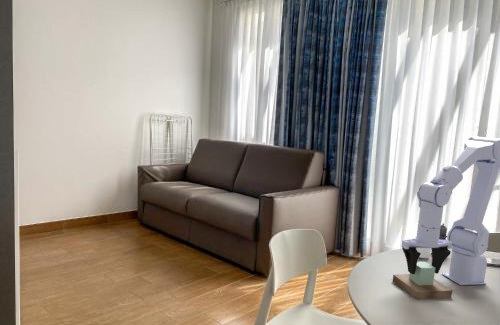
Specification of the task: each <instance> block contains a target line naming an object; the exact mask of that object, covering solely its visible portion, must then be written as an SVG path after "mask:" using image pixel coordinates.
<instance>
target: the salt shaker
mask: <svg viewBox="0 0 500 325" xmlns="http://www.w3.org/2000/svg"><path fill="white" fill-rule="evenodd" d="M447 231H448V227H447V226H445V224H444V222H443V223H441V228H440V236H439V239H440V240H447V234H448V232H447ZM447 249H448V248H447ZM448 250H449V249H448ZM430 255H431V256H432V252H430Z"/></svg>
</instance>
